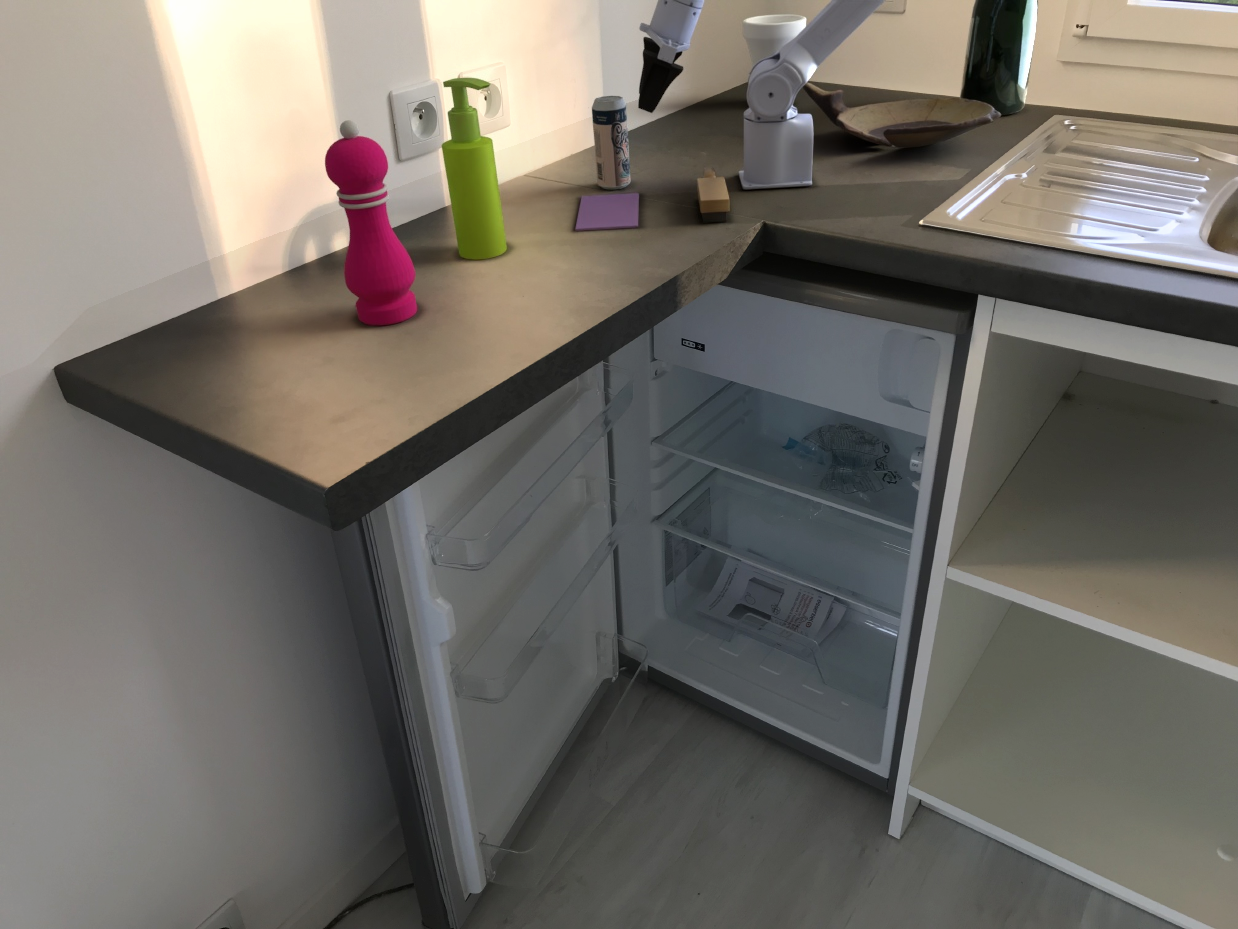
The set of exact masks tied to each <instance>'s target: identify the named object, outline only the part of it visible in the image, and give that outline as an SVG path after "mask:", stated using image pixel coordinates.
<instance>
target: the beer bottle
mask: <svg viewBox="0 0 1238 929" xmlns="http://www.w3.org/2000/svg"><path fill="white" fill-rule="evenodd" d="M1038 11H1039V0H974V4H973V6H972V12H971V17H970V23H969V28H968V30H969V31H968V35H967V42H966V49H965V57H964V62H963V63H964V64H963V69H962V70H963V71H962V77H961V85H960V93H959V98H963V99H968V100H976V101H980V102H983V103H987V104H989V105H991V106H992V107H993V108H994V110H996V111H998V112H999V113H1000V114H1001V116H1008V115H1013V114H1016V113H1019V112H1021V111H1022V110H1023V109H1024V108H1025V106H1026V105H1025V104H1026V100H1027V94H1028V87H1029V80H1030V74H1031V66H1032V59H1033V52H1034V45H1035V37H1036V30H1037V22H1038V21H1037V20H1038V13H1039V12H1038Z"/></svg>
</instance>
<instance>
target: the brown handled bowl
mask: <svg viewBox="0 0 1238 929" xmlns="http://www.w3.org/2000/svg"><path fill="white" fill-rule="evenodd" d="M802 89H803V90H804V92H806V94H807V95H808V96H809V97H810V99H811V100H812V101H813V102H814V103H815V104H816V105H817V106H818V107H819V109H820V110H821V111H822V112H823V113H824V115H825V116H826V117H827V119H829V120H830V122H831V123H832V124H834V125H835V126H836V127H838V128H840V129H841V130H843V131H845V132H846V133H848V134H850V135H852V136H855V137H856V138H859V139H861V140H864V141H867V142H870V143H873V144H876V145H880V146H884V147H893V148H894V147H896V148H921V147H926V146H931V145H934V144H938V143H941V142H945V141H947V140H950V139H953V138H956V137H958V136H961V135H963V134H965V133H968V132H971V131H972V130H975V129H977V128H980V127H982V126H985V125H989V124H991V123H993V121H994V120H997V119H999V118H1001V116H1002V115H1001V114H1000V113H999V112H998V111H996V110H994V108H993V107H992V106H991V105H989V104H987V103H983V102H980V101H976V100H968V99H963V98H960V97H951V98H946V97H929V98H913V99H912V98H911V99H910V98H909V99H902V100H892V101H886V102H885V101H884V102H879V103H876V102H875V103H869V104H864V105H859V106H854V107H848V106H847V105H845V104H844V101H843V100H844V98H843V96H844V90H842V89H837V90H834V91H828V90H824V89H822V88H820V87H818V86H817V85H814V84H813V83H810V82H807V83H806V84H805V85H804V86H803V87H802Z"/></svg>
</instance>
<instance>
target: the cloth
mask: <svg viewBox="0 0 1238 929" xmlns="http://www.w3.org/2000/svg"><path fill="white" fill-rule="evenodd" d="M580 198H581V199H580V203H579V209H578V213H577V217H576V225H575V232H580V231H595V230H596V231H598V230H599V231H600V230H619V229H635V228H639V209H640V208H639V207H640V206H639V205H640V204H639V201H640V193H639V192H630V193H614V194H613V193H611V194H596V195H582V196H581V197H580Z"/></svg>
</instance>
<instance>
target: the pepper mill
mask: <svg viewBox="0 0 1238 929" xmlns="http://www.w3.org/2000/svg"><path fill="white" fill-rule="evenodd" d="M339 132H340V135H341V136H342V138H339V139H338V140H336V141H334V142H333V143H332V144H331V145H330V146H329V147H328V149H327V151H326V153H325V157H324V166H325V167H324V168H325V173H326V175H327V177H328V179H329V180H330V181H331V183H333V184H334V185H335V186H336V187H337V188H338V189H337V190H336V192H335V193H336V196H337V197H338V205H339V207H341V208H343V209H344V212H345V216H346V219H347V222H348V228H349V241H348V248H347V252H346V254H345V255H346V256H345V260H344V266H343V267H344V268H343V269H344V270H343V276H344V281H345V285H346V287H347V289H348V290H349V292H350V293H351V294H353V295H354V296H356V297H357V300H356V301H355V308H356V313H357V317H358V320H359V321H360V322H361V323H363V324H365V325H369V326H391V325H395V324H398V323H402V322H405V321H407V320H410V319H411V318H412V317H414V316H415V315H416V313H417V312H418V304H417V299H416V294H415V293H414V292H413V291H412V290H410V289H411V288H412V285H413V284H414V282H415V279H416V269H415V267H414V263H413V261H412V259H411V256H410V254H409V252H408V251H407V249H406V247H405V246H404V245H403V244H402V243H401V240H399V238H398V237H397V235H396V233H395V232H394V230H393V228H392V224H391V223H390V219H389V214H388V209H387V202H388V201H389V200H390V195H389V193H388V188H389V187H388V185H387V184H386V183H384V179H385V178H386V176H387V175H388V173H389V172H388V170H389V162H388V156H387V155H386V152H385V150H384V149H383V147H382V146H381V144H380V143H378V142H377V141H375V140H374V139H372V138H369V137H367V136H362V135H359V134H360V129H359V126H358V123H356V122H355V121H353V120H350V119H349V120H343V122H342V123H341V124H340V126H339Z"/></svg>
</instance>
